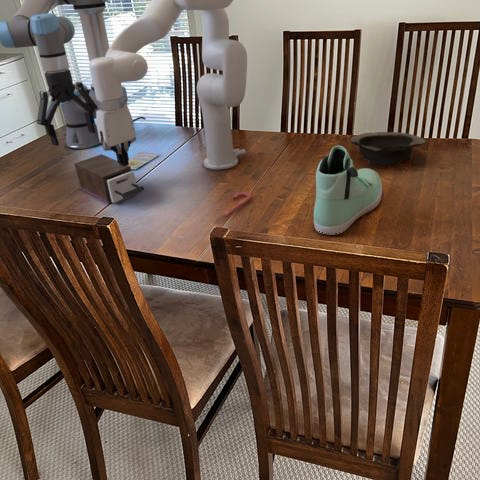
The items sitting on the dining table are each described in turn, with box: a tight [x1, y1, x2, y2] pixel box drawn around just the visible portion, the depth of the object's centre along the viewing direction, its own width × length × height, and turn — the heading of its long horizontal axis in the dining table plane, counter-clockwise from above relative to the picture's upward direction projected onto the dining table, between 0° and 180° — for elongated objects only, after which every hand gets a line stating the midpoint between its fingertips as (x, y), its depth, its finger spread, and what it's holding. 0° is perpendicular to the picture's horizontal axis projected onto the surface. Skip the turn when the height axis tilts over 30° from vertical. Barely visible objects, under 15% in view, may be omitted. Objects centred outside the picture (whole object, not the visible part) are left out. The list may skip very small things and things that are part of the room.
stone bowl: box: [350, 131, 426, 169], centre depth 166 cm, size 25×25×9 cm
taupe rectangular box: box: [73, 154, 132, 205], centre depth 159 cm, size 18×10×9 cm, turn 44°
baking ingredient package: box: [128, 152, 159, 170], centre depth 182 cm, size 9×1×15 cm
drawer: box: [106, 170, 146, 204], centre depth 155 cm, size 23×9×7 cm, turn 44°
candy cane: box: [223, 191, 253, 218], centre depth 145 cm, size 6×15×2 cm, turn 145°
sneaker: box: [313, 145, 383, 236], centre depth 133 cm, size 14×35×20 cm, turn 152°
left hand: (74, 138), depth 155 cm, fingers open, 13 cm apart
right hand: (124, 164), depth 145 cm, fingers closed
